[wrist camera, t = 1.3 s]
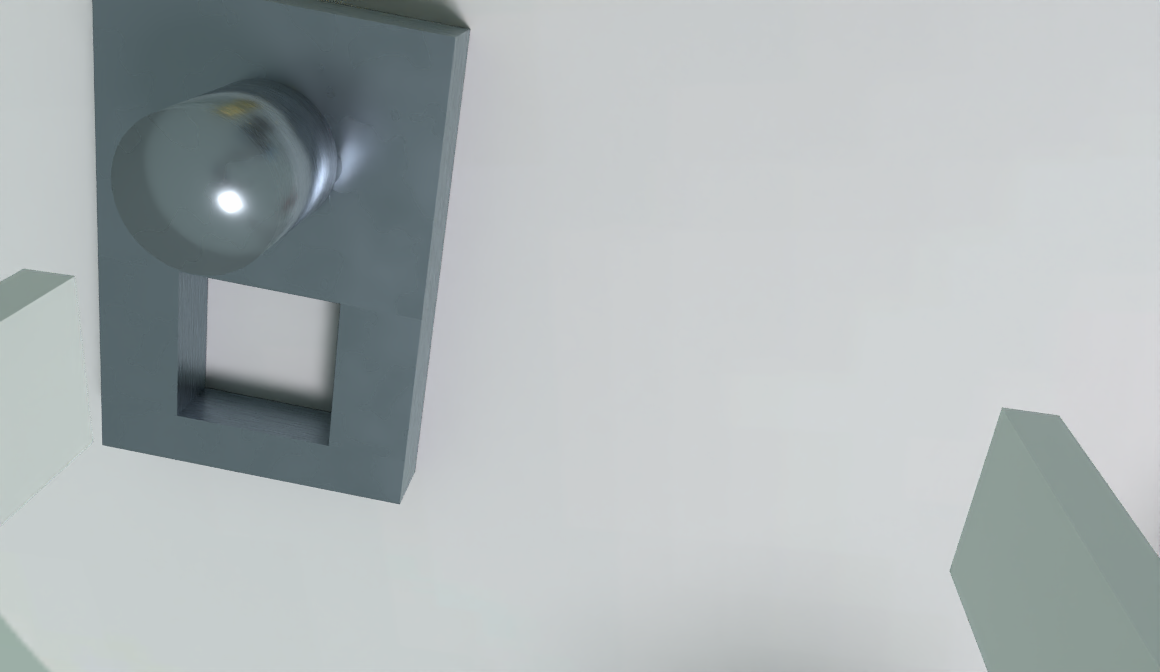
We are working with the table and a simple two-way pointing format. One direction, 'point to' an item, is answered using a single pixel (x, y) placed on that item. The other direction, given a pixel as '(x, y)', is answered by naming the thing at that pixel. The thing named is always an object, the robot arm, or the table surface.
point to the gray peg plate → (272, 222)
